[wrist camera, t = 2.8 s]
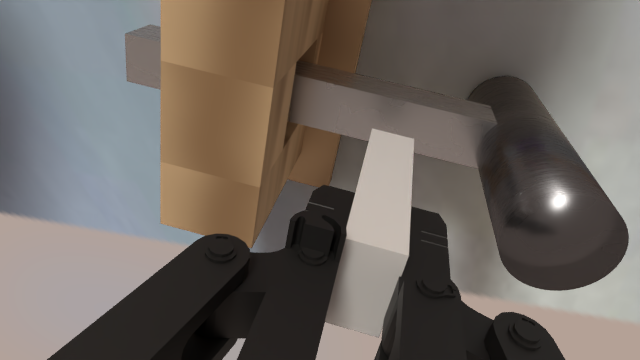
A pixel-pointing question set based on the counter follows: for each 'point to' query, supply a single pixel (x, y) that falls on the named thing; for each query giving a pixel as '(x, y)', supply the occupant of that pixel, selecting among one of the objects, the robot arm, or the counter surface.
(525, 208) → the hook rod
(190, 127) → the eye block
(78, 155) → the counter surface
